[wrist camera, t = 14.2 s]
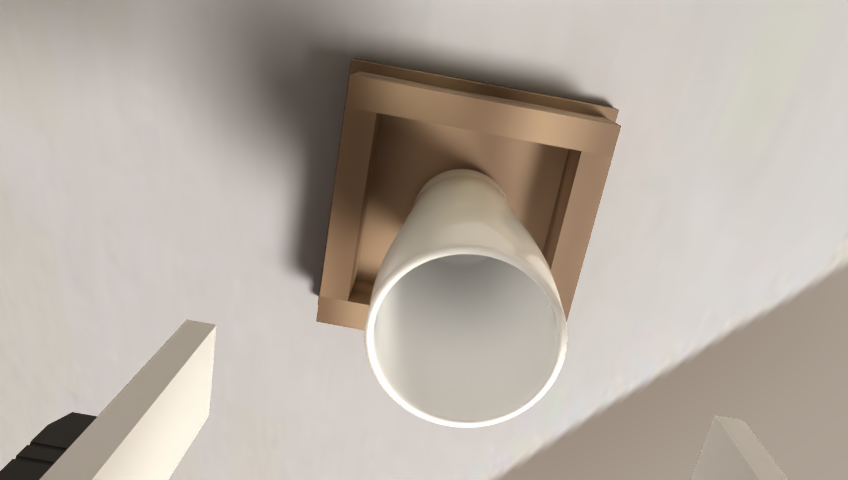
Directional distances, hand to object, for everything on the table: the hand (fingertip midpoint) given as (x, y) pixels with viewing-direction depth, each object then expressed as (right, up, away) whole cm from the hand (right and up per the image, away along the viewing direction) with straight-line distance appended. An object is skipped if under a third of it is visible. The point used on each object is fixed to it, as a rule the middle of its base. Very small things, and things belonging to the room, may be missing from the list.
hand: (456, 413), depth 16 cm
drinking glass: (+1, +6, +18) cm, 19 cm away
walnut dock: (+1, +6, +19) cm, 20 cm away
